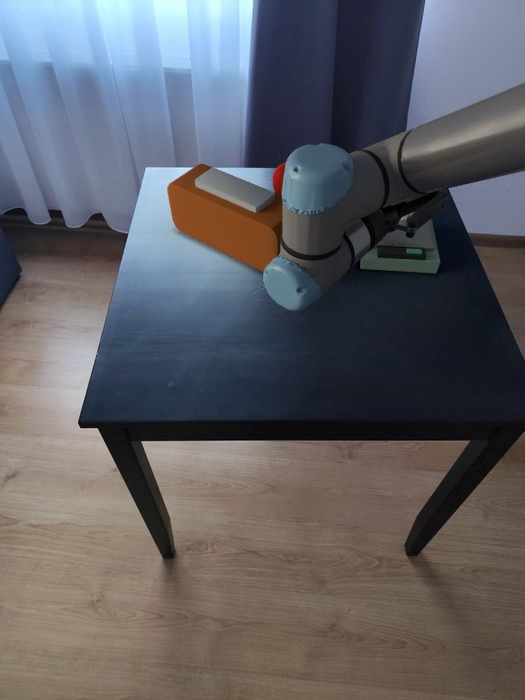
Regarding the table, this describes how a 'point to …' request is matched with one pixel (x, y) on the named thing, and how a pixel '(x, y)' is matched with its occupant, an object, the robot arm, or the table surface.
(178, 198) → the alarm clock
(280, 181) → the apple
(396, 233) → the weighing plate
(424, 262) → the scale
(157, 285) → the table surface
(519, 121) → the robot arm
